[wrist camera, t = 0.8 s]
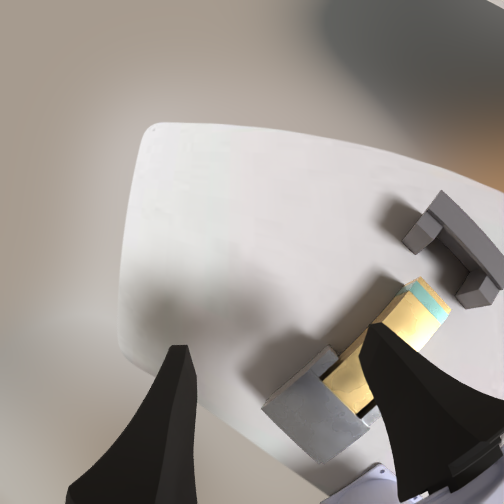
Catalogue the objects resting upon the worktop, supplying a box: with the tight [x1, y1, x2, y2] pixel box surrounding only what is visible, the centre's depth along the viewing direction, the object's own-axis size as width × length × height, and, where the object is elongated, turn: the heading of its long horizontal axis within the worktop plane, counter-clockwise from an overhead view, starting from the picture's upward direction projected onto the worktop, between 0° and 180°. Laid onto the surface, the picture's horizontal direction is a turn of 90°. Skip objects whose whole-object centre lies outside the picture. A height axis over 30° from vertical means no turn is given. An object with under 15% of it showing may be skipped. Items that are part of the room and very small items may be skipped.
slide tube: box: [319, 276, 451, 414], centre depth 20 cm, size 4×15×4 cm, turn 133°
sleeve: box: [261, 345, 381, 464], centre depth 20 cm, size 7×7×6 cm
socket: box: [402, 190, 504, 309], centre depth 20 cm, size 10×4×6 cm, turn 42°
